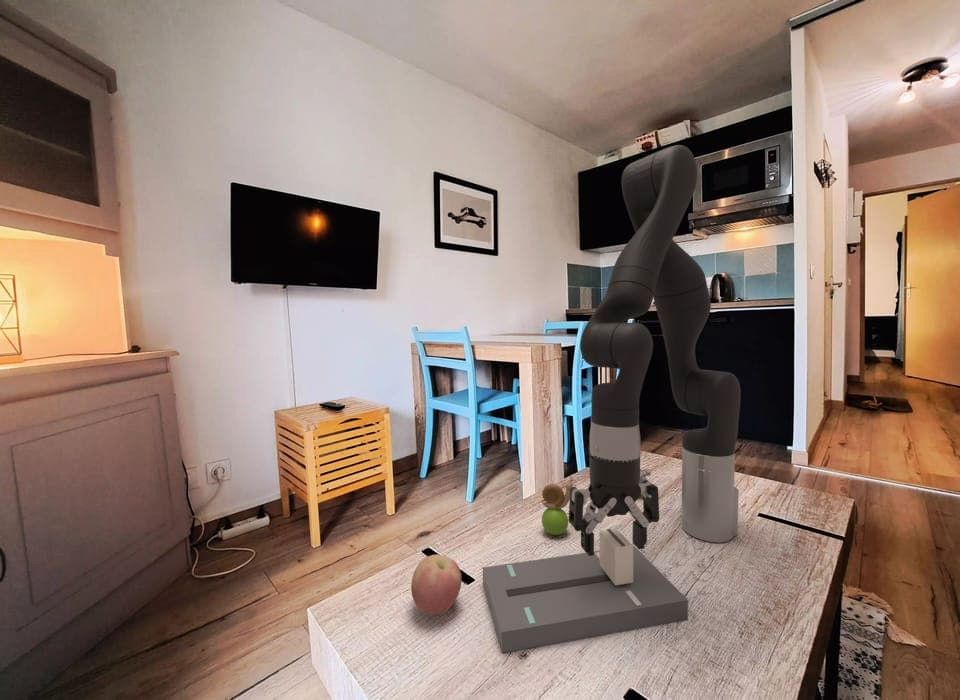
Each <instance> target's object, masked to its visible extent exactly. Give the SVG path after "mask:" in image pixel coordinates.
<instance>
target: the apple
mask: <svg viewBox="0 0 960 700" xmlns="http://www.w3.org/2000/svg"><path fill="white" fill-rule="evenodd" d="M461 572H462V571H461V569H460V566H459V564H458V563H457V562H456V561H455V560H454V559H452V558H451V557H449V556H445V555H441V554H431V555H428V556H427V557H425V558H423V559H422V560H421V561H420V562H419V563H418V564H417V566H416V567H415V569H414V571H413V574H412V579H411V583H410V584H411V585H410V589H411V590H410V591H411V596H412V599H413V602H414V603H415V605H416V607H417V608H418V609H419V610H421V612H423V613H426V614H428V615H429V614H431V615H440V614H443V613H446V612H447V611H449V609H450V608H451V607H452V606H453V604H455V602H456V600H457V598H458V596H459V594H460V591H461V586H462V573H461Z"/></svg>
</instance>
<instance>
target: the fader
mask: <svg viewBox="0 0 960 700" xmlns="http://www.w3.org/2000/svg"><path fill="white" fill-rule="evenodd" d="M633 546H634V544H633V543H632V542H631V541H630V540H628V538H626V537H625V536H624V534H622V533H621V531H619V530H618V529H617V528H607V529H602V530H599V551H600V566H601V568H602V569H603V570H604V571H605V573H606V574H607V575H608V577H609V578H610V579H611V580H612V582H613V583H614V584H615V585H621V584H627V583H633Z"/></svg>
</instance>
